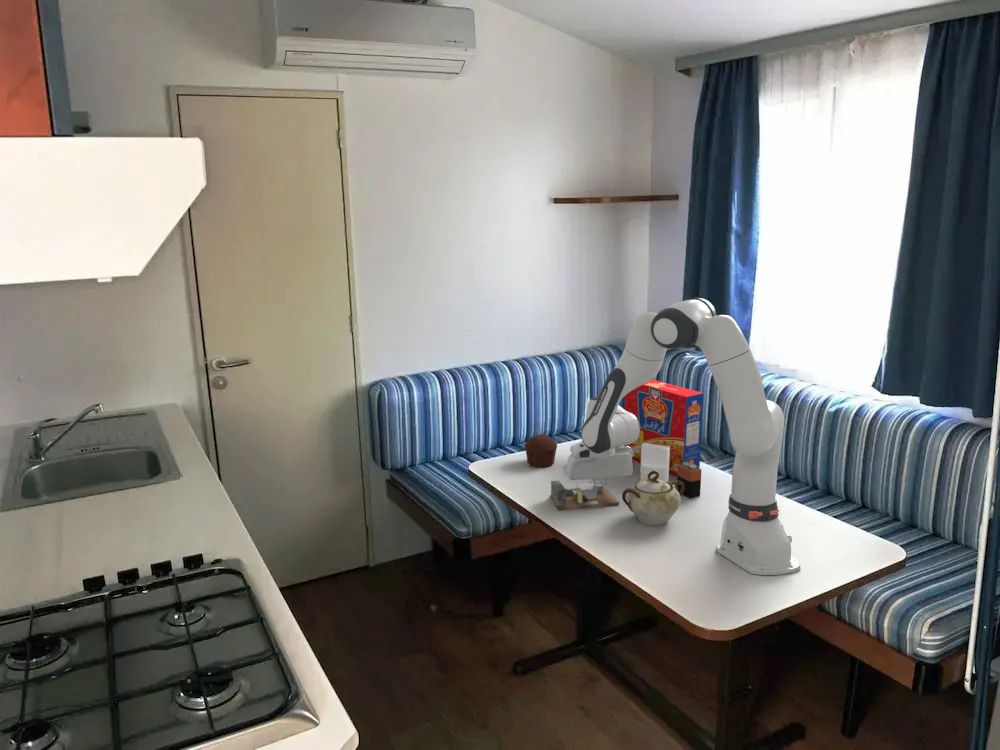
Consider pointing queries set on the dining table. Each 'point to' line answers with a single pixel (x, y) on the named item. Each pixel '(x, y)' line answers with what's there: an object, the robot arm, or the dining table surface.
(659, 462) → the base with upright slab
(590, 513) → the dining table surface
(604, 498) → the bench
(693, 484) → the battery
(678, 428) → the pasta box
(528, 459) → the muffin
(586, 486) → the gauge plunger
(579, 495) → the telltale marker
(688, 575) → the dining table surface
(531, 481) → the dining table surface
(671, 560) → the dining table surface
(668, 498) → the sugar bowl
